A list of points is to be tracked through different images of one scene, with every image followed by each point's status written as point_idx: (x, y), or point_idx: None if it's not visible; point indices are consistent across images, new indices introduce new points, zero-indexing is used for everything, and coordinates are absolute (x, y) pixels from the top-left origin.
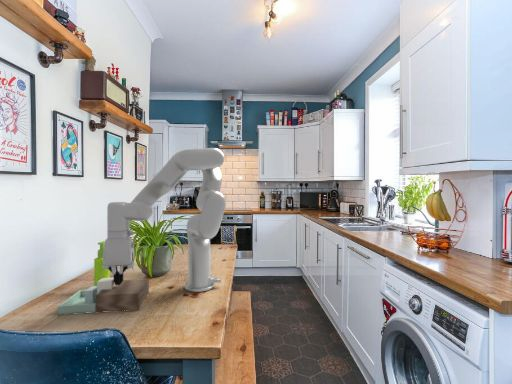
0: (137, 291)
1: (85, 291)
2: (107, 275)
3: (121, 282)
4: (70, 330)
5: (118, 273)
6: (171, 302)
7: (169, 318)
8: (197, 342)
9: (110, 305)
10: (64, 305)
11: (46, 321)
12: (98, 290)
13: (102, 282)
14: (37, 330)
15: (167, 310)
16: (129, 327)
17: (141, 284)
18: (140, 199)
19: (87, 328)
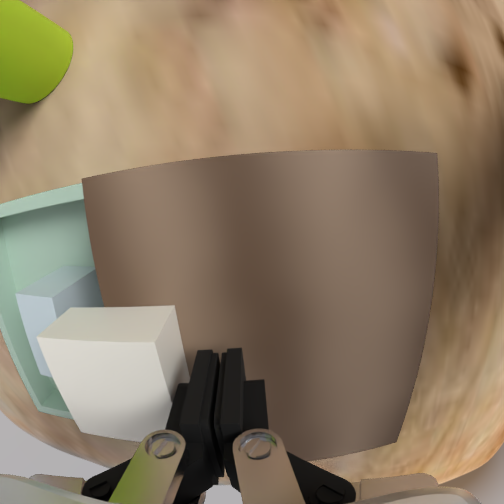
0: (389, 425)
1: (45, 374)
2: (13, 43)
3: (243, 363)
4: None
5: (214, 451)
6: (484, 299)
7: (456, 417)
8: (469, 468)
9: None
10: (52, 411)
11: (63, 423)
12: (70, 299)
13: (118, 436)
14: (92, 461)
15: (463, 372)
16: (352, 472)
17: (407, 307)
18: None
19: (225, 480)
